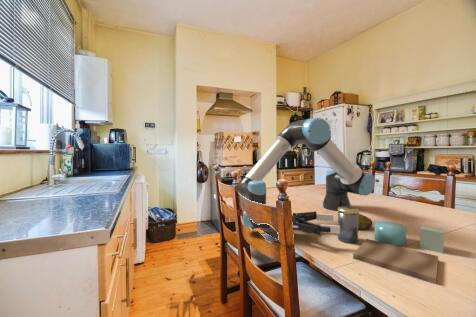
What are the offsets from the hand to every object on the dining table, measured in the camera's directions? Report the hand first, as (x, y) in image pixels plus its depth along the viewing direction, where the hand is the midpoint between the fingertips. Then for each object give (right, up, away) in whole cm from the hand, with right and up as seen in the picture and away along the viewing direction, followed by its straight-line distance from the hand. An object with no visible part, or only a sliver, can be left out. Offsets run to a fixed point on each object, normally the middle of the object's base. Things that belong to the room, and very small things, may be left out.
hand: (336, 223), depth 86 cm
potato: (+14, -6, +13) cm, 20 cm away
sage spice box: (+30, -6, -8) cm, 32 cm away
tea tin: (+4, -6, 0) cm, 8 cm away
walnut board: (+12, -7, -16) cm, 21 cm away
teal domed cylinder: (+20, -6, -1) cm, 21 cm away
